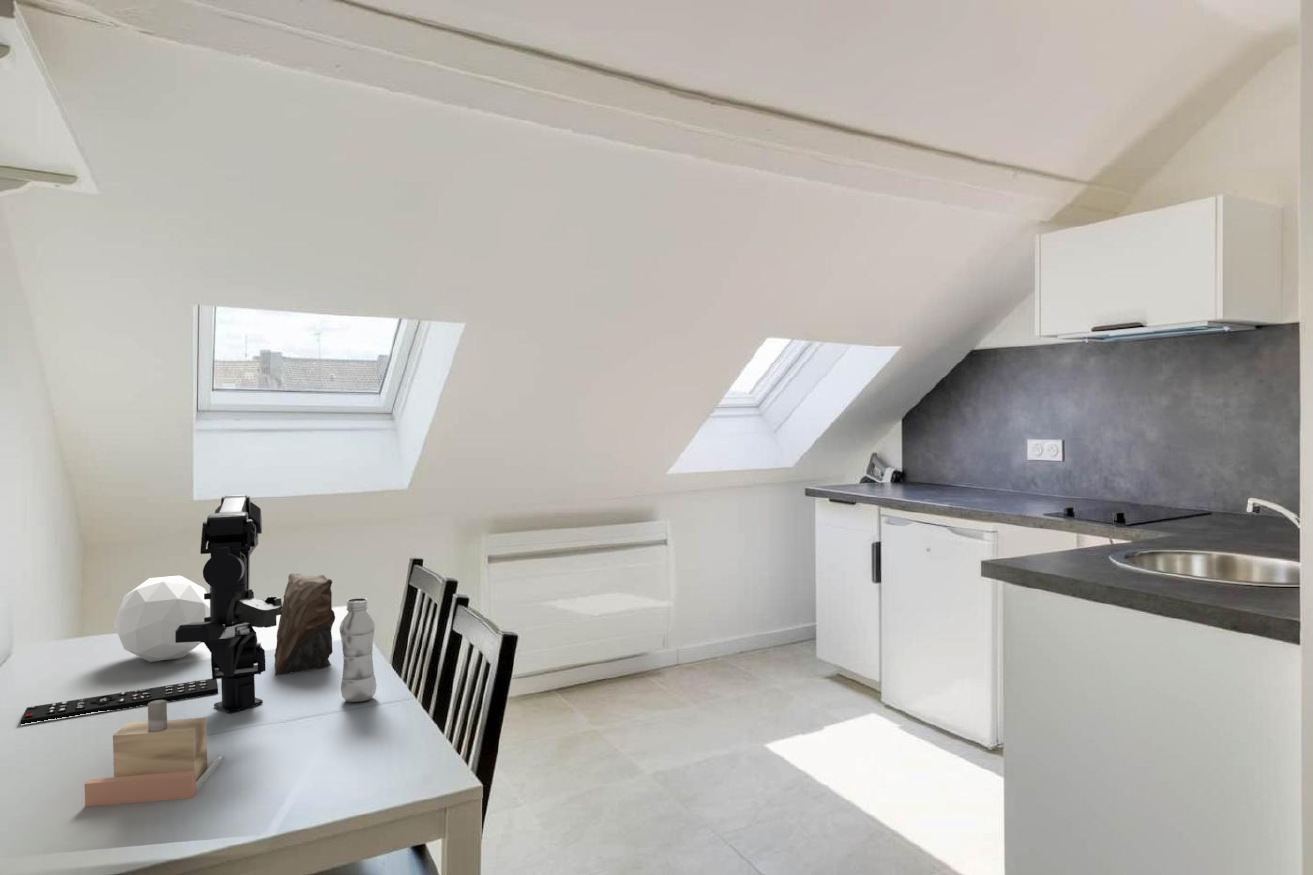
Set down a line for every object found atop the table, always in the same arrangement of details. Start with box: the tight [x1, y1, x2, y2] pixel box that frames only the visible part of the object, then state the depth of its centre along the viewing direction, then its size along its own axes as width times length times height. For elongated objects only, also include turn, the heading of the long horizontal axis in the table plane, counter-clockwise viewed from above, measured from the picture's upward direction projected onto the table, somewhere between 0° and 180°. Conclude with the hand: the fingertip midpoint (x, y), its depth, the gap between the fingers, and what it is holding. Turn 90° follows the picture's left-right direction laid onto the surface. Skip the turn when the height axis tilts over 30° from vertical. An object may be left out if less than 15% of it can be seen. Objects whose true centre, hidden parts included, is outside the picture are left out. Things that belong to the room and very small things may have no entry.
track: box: [84, 755, 225, 807], centre depth 120 cm, size 13×14×4 cm
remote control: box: [20, 678, 219, 725], centre depth 157 cm, size 8×32×2 cm, turn 121°
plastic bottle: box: [339, 597, 377, 703], centre depth 157 cm, size 6×7×20 cm
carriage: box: [112, 700, 208, 781], centre depth 121 cm, size 5×11×12 cm, turn 100°
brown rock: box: [274, 573, 336, 677], centre depth 180 cm, size 13×13×20 cm
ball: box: [113, 575, 210, 663], centre depth 185 cm, size 19×20×20 cm
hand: (229, 676), depth 138 cm, fingers closed
